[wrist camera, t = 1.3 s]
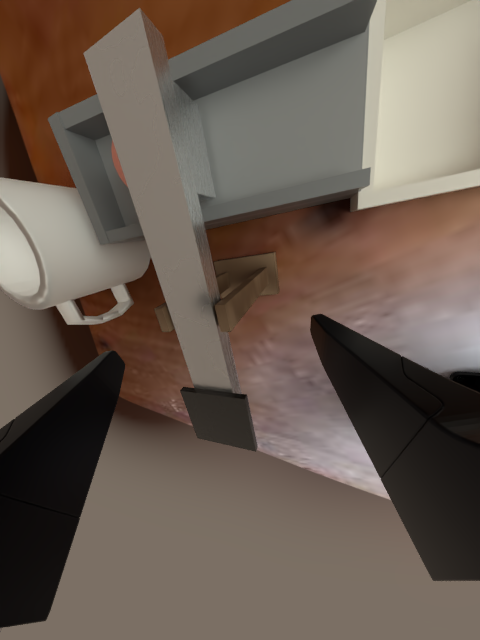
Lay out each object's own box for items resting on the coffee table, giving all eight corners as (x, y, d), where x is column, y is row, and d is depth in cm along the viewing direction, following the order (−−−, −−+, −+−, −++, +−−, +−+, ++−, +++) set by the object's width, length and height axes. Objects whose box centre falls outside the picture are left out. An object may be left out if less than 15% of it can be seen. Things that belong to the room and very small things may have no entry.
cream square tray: (522, 178, 13) (586, 164, 10) (350, 212, 16) (357, 209, 13) (600, -75, 9) (743, -224, 6) (355, 40, 12) (368, -17, 9)
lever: (271, 393, 19) (256, 451, 14) (225, 388, 21) (197, 437, 16) (226, 86, 11) (154, -24, 6) (156, 121, 13) (57, 59, 8)
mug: (173, 298, 26) (95, 338, 17) (120, 308, 30) (35, 345, 21) (126, 178, 21) (-17, 144, 12) (71, 209, 25) (-66, 202, 16)
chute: (352, 197, 16) (381, 177, 9) (167, 238, 22) (100, 245, 15) (357, 62, 13) (406, -132, 6) (143, 155, 20) (47, 118, 13)
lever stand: (279, 291, 21) (247, 351, 11) (224, 295, 23) (158, 347, 13) (275, 251, 19) (234, 280, 10) (216, 260, 22) (137, 290, 12)
